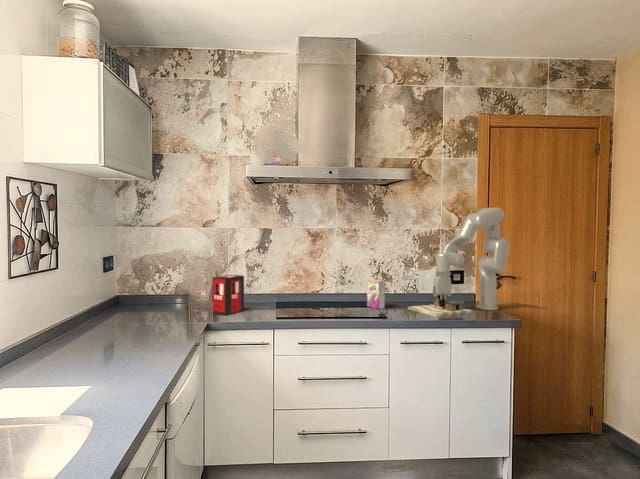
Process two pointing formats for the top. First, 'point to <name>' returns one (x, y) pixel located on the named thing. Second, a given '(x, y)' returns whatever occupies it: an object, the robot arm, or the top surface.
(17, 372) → the top surface
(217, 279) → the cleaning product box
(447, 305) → the walnut link
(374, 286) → the candy bar box
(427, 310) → the birch board
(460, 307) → the block
